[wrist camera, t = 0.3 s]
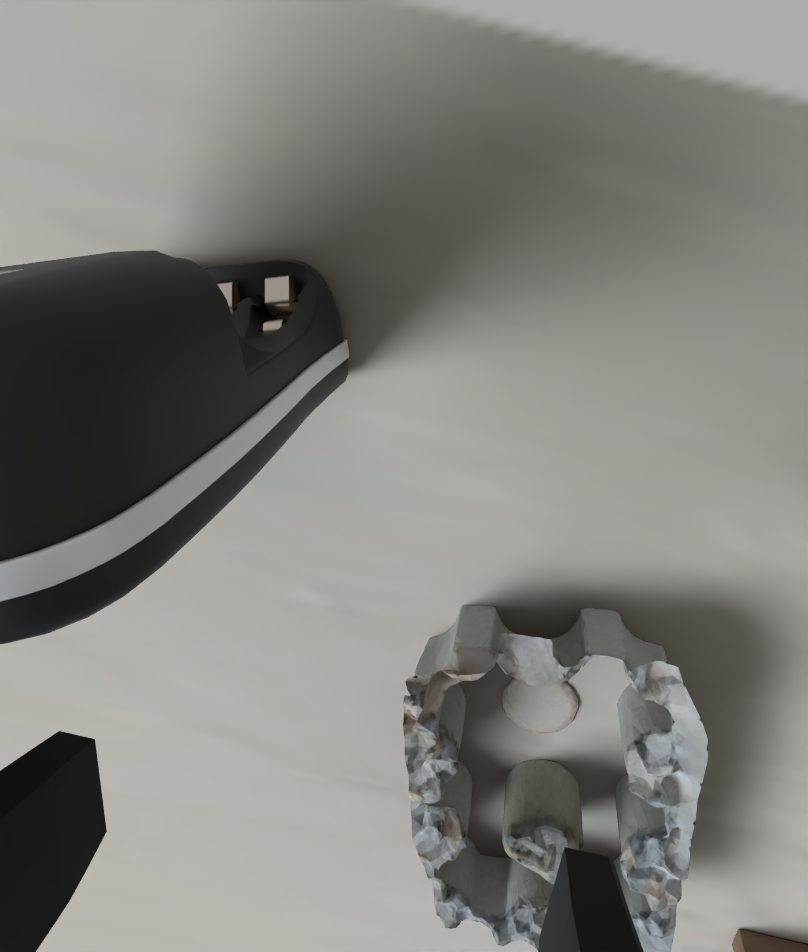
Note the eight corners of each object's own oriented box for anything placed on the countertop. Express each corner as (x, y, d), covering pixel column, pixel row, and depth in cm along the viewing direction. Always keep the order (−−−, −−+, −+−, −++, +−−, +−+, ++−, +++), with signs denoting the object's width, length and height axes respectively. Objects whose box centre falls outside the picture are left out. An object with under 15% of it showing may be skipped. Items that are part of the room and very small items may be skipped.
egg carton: (419, 584, 19) (390, 676, 16) (694, 603, 18) (733, 709, 14) (428, 845, 24) (406, 967, 20) (652, 877, 22) (674, 1015, 18)
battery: (339, 219, 16) (-57, 279, 5) (363, 378, 17) (88, 673, 7) (79, 254, 17) (-626, 353, 7) (121, 397, 18) (-409, 661, 8)
